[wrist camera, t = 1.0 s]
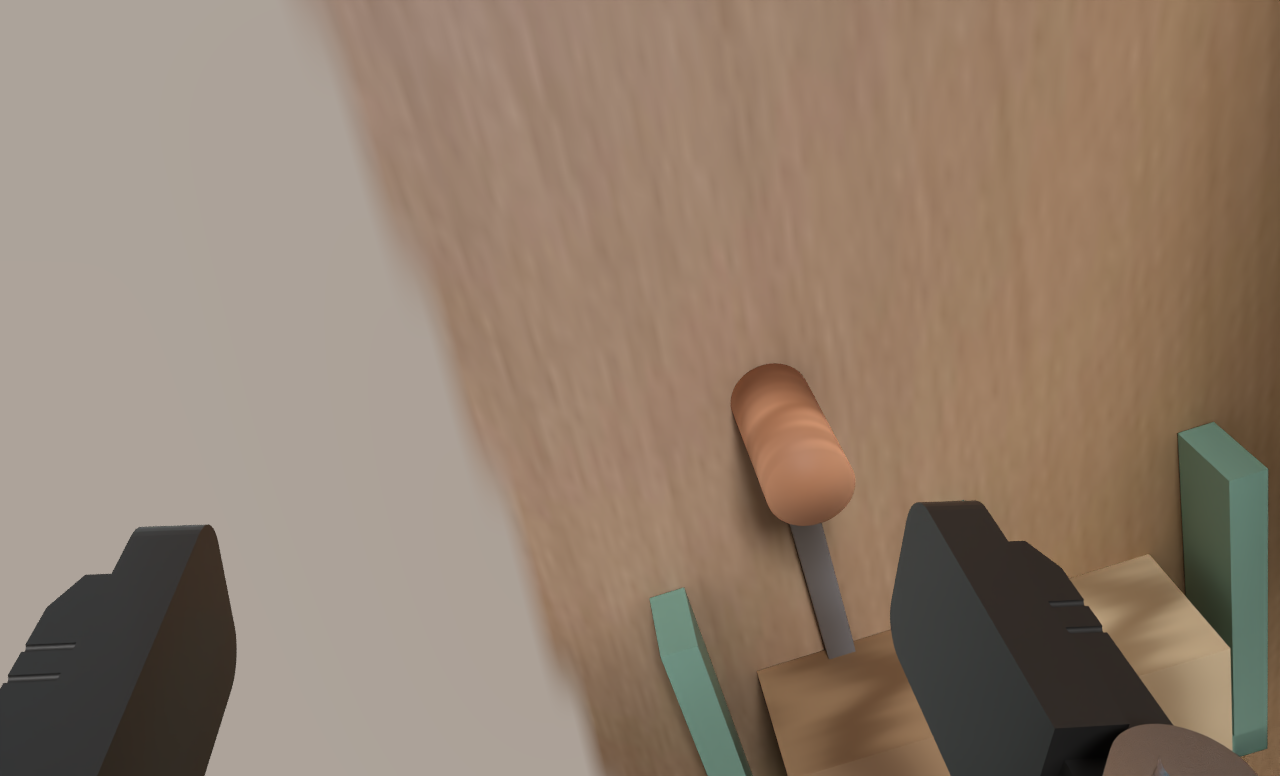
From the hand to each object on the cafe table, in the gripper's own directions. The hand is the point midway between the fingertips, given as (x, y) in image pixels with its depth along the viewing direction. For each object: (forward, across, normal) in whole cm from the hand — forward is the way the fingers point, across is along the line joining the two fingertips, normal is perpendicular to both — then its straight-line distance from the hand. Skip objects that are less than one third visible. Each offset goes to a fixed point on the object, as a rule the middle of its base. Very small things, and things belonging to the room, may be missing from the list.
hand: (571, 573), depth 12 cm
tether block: (+24, -12, +20) cm, 34 cm away
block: (+25, -24, +24) cm, 42 cm away
